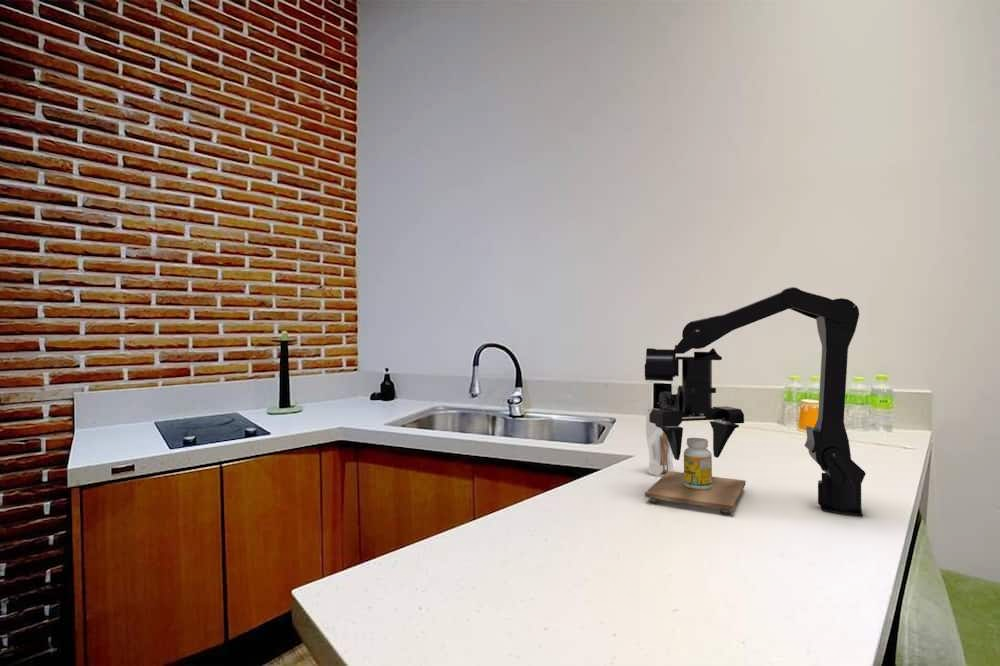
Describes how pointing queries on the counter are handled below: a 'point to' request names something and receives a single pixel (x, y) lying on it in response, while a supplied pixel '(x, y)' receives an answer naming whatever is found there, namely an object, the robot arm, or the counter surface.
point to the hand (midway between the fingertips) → (696, 458)
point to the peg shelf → (697, 492)
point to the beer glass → (658, 449)
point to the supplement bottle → (697, 464)
